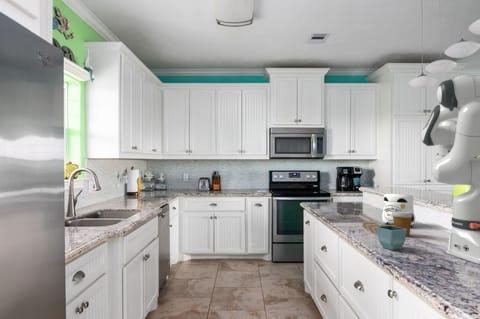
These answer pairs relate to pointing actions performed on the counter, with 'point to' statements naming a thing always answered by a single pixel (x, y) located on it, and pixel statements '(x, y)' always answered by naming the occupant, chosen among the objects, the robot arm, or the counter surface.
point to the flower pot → (391, 236)
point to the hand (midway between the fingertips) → (449, 179)
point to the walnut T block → (372, 226)
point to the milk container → (397, 206)
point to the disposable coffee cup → (403, 220)
